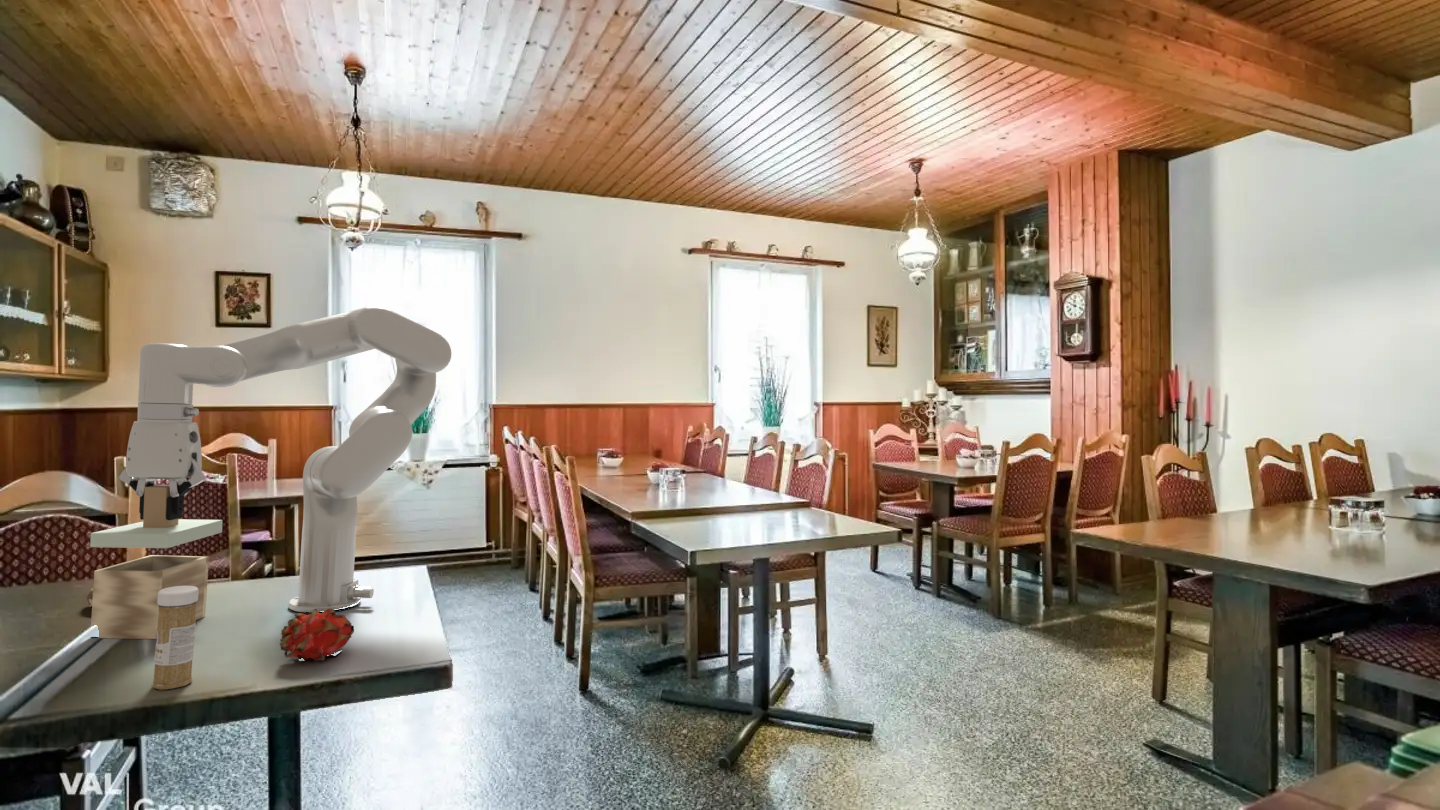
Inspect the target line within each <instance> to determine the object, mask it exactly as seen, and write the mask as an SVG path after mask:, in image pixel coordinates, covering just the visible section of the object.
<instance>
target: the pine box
mask: <svg viewBox="0 0 1440 810" xmlns="http://www.w3.org/2000/svg"><path fill="white" fill-rule="evenodd" d="M209 562H210V556H201V555H200V556H199V555H198V556H197V555H196V556H195V555H194V556H193V555H170V554H169V555H167V554H165V555H162V554H160V555H159V554H158V555H157V554H150V555H145V556H143V557H138V558H136V559H132V560H131V559H130V560H128V561H124V562H121V563H118V564H113V565H110V566H106V567H103V568H100V569H96V570H94V574H93V587H92V588H93V601H92V608H91V618H90V619H91V620H90V627H91V626H94V625H97V626H98V630H99V637H98V638H97V639H123V640H124V639H130V640H131V639H133V640H137V639H138V640H139V639H140V640H156V634H157V628H158V612H159V611H158V610H159V606H158V604H157V600H158V592H159V591H160V590H162V589H164V588H168V587H174V586H195V587H197V588H198V601H196V602H197V604H196V614H195V615H196V616H195V622H197V621H199V620H200V619H203V618H205V617H206V609H207V594H208V581H209V580H208V579H209V578H208V577H209V564H210V563H209Z"/></svg>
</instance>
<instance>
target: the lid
mask: <svg viewBox="0 0 1440 810" xmlns="http://www.w3.org/2000/svg"><path fill="white" fill-rule="evenodd" d="M170 496H171V495H170V487H169V484H156V485H154V486H148V487H145V490H144V516H143V521H139V522H135V523H134V522H133V523H130V524H129V523H128V524H124V525H120V526H117V527H113V528H108V529H104V530H98V531H94V532H90V545H89V546H90V548H114V549H115V548H121V549H122V548H125V549H126V548H127V549H129V548H131V549H134V548H135V549H170V548H173V547H176V546H179V545H183V544H186V543H190V542H193V541H197V540H200V539H204V538H208V537H210V536H214V535H218V534H221V533H223V519H197V518H195V519H191V518H190V519H187V518H186V519H183V518H178V519H174V520H167V519H166V511H167V497H170Z"/></svg>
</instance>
